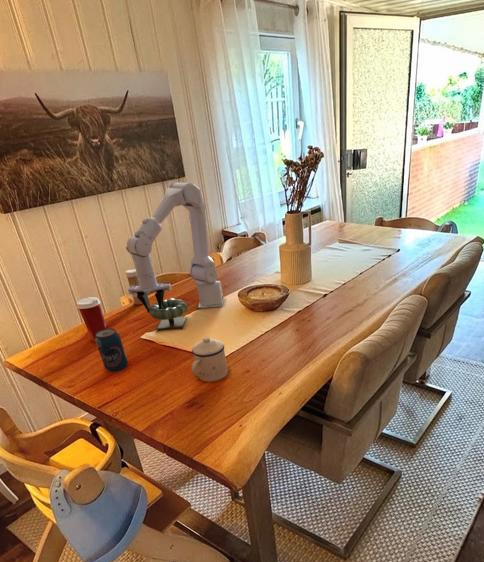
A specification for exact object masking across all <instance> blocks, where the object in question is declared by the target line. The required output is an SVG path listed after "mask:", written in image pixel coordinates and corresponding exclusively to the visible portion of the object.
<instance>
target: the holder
mask: <svg viewBox="0 0 484 562" xmlns="http://www.w3.org/2000/svg"><path fill="white" fill-rule="evenodd" d="M169 308H171V307H167V308H166V309H169ZM186 321H187V316H179V317H177V318H173V319H168V320H160V322H159V324H158V326H157V328H156V330H157V332H162V331H163V332H164V331H174V330H175V331H176V330H183V329H184V327H185V324H186Z"/></svg>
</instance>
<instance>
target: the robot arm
mask: <svg viewBox="0 0 484 562" xmlns="http://www.w3.org/2000/svg"><path fill="white" fill-rule="evenodd" d="M179 206H183V207H184V208H185V209H186V210H187V211H189V219H190V228H191V229H190V230H191V238H192V247H193V257H192V259H191V260H190V268H189V274H190V277H191V278H192V280H194V283H195V286H196V289H197V296H198V301H199V303H198V305H197V308H198V309H207V308H208V309H209V308H219V307H223V305H224V304H223V303H224V301H225V298H224V295H223V293H224V292H223V286H222V282H221V281H220V280H217V279H218V270H217V268H216V265H215V264H216V263H215V261H214V260H213V259H212V257H210V251H209V239H208V238H209V237H208V227H207V215H206V205H205V202H204V200H203V198H202V192H201V188H199V187H198V185H196V184H195V183H194V182H178V181H173V182H171V183H170V184H169V186H168V187H167V188H166V189H165V195H164V197H162V199H161V201H160V203H159V205H158V207H157V208H156V209H155V211H154V213H153V215H152V216H151V217H145V218H143V219H142V221H141V223H142V224H141V225H140V227H139V228H138V229H137V230H136V231H135V232H134V234H133V235H134V236H131V237H129V238H128V239H127V242H126V247H125V249H126V251H127V252H128V253H129V254H130V256H131V259H132V261H133V265H134V268H135V270H136V272H137V276H138V280H139V283H140V285H139V286H134V287H130V286H129V287H128V288H127V291H128V294H129V295H132V294H133V293H137V298H138V299H139V300H140V301H141V302H142V303H143V304H142V305H143V306H144V308H145V310H146V311H147V313H148V314H150V313H149V309H150V308H151V304H150V301H149V295H148V293H152V292H153V293H154V292H155V293H154V296H155V299H156V303H157V302H158V305H159V309H163V300H164V297H165V292H166V291H167V292H170V291H171V290H172V285H171V283H160V282H159V283H158V281H157V277H156V273H155V270H154V265H153V261H152V258H151V253H152V249H153V244H154V241H155V240H156V239H157V237H158V236H159V235H160V233H161V231H162V228H163V227H162V223H163V222H164V221H165V219H166V218H167V217H168V216H169V215H170V214H171V212H172V211H173V210H174V209H175V208H176V207H179Z"/></svg>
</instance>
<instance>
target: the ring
mask: <svg viewBox="0 0 484 562" xmlns="http://www.w3.org/2000/svg"><path fill="white" fill-rule="evenodd" d="M150 307H151V308H150V309H149V313H148V314H149V315H150V316H151V318H153V319H155V320H160V321H161V320H168V319H173V318H177V317H182V316H184V314H186V312H187V310H188V304H187V302H185V301H184V300H183V299H181V298H165V299H163V309H159V305H158V302H157V301H156V302H155V303H153V304H151V305H150ZM167 307H171V308H169V309H166V308H167Z"/></svg>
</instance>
